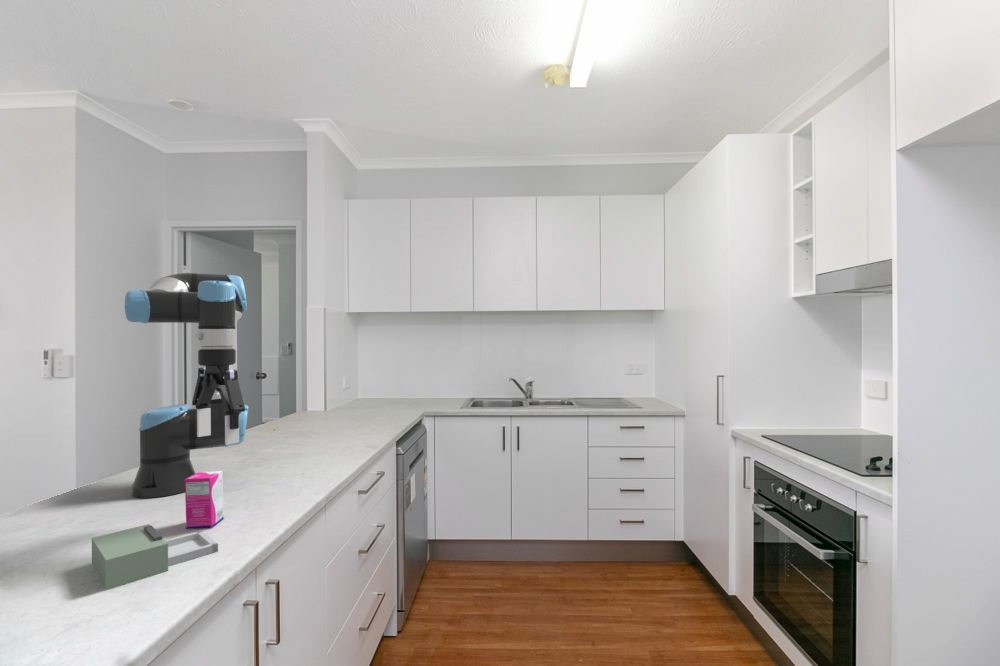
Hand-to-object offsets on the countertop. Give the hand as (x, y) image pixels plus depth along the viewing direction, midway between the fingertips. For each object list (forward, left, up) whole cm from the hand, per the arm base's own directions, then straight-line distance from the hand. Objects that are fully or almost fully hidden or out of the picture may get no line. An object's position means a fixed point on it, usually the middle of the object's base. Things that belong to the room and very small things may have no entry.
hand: (217, 439), depth 113 cm
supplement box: (-1, -2, -20) cm, 20 cm away
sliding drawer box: (+12, -14, -19) cm, 27 cm away
